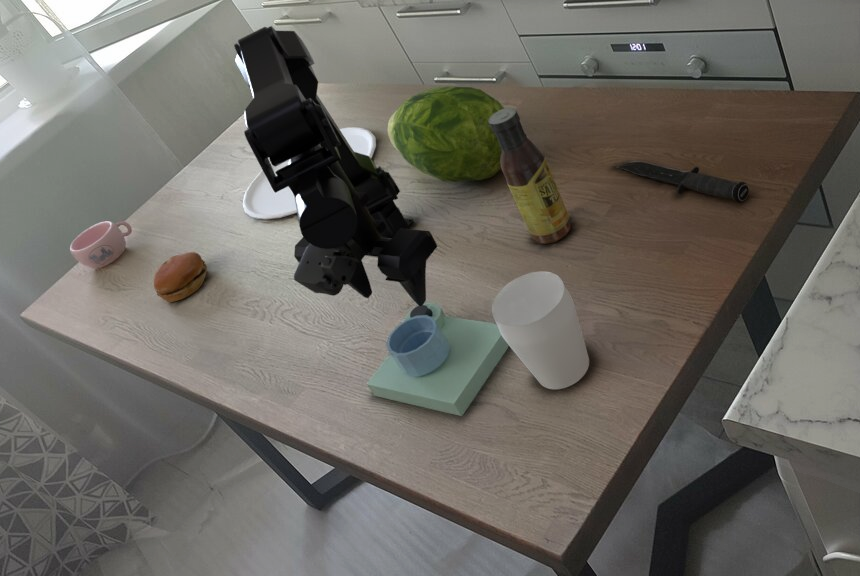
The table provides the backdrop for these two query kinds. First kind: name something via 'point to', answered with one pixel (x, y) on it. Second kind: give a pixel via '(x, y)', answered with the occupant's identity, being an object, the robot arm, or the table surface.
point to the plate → (282, 203)
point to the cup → (542, 328)
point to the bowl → (418, 345)
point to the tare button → (420, 311)
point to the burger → (180, 276)
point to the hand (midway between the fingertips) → (395, 299)
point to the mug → (100, 244)
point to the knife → (690, 180)
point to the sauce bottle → (530, 179)
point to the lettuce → (448, 133)
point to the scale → (446, 367)
